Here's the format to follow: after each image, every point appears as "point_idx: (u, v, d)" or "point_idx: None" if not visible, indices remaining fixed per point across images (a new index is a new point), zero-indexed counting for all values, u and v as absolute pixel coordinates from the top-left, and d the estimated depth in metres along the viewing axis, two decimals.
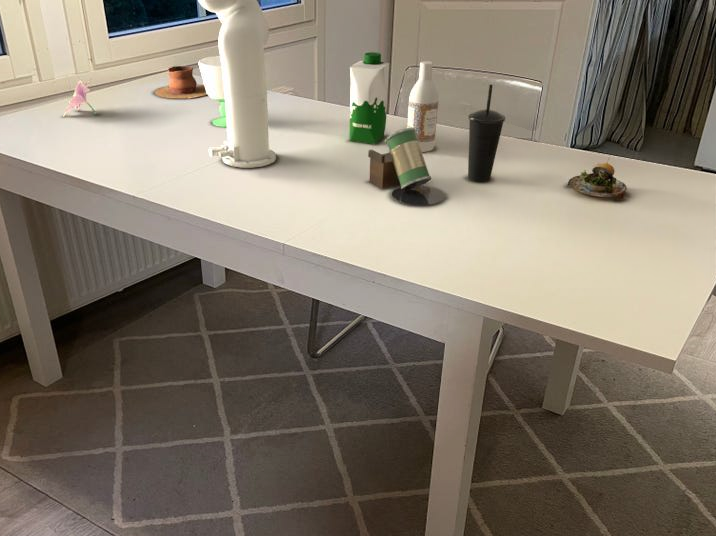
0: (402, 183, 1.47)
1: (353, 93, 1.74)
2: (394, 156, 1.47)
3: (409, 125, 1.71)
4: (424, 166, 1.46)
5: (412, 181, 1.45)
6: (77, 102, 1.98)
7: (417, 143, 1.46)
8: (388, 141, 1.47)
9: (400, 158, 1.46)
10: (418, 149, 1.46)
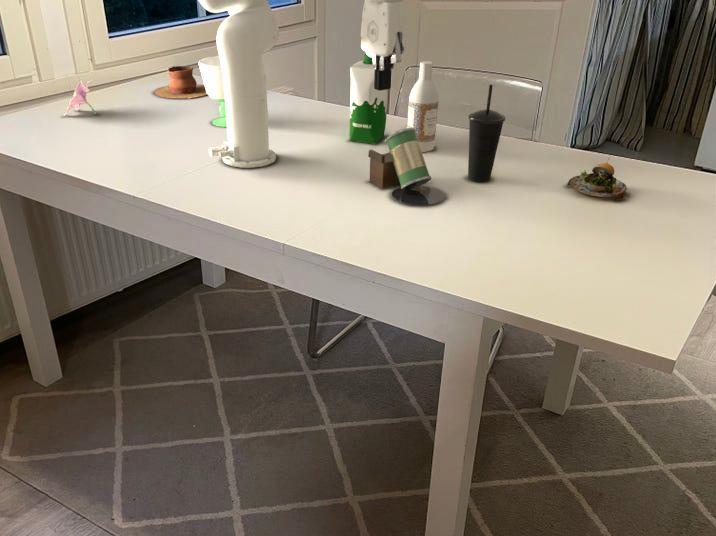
0: (402, 183, 1.47)
1: (353, 93, 1.74)
2: (394, 156, 1.47)
3: (409, 125, 1.71)
4: (424, 166, 1.46)
5: (412, 181, 1.45)
6: (77, 102, 1.98)
7: (417, 143, 1.46)
8: (388, 141, 1.47)
9: (400, 158, 1.46)
10: (418, 149, 1.46)
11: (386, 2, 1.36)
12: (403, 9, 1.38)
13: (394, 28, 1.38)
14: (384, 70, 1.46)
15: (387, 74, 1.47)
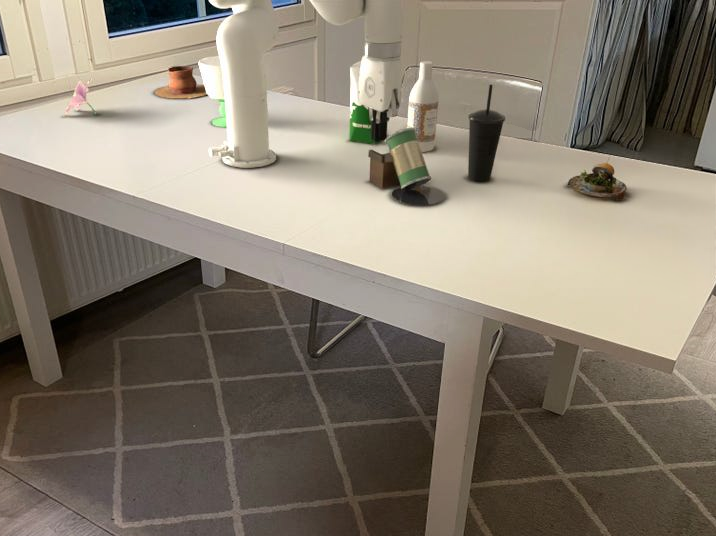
0: (402, 183, 1.47)
1: (353, 93, 1.74)
2: (394, 156, 1.47)
3: (409, 125, 1.71)
4: (424, 166, 1.46)
5: (412, 181, 1.45)
6: (77, 102, 1.98)
7: (417, 143, 1.46)
8: (388, 141, 1.47)
9: (400, 158, 1.46)
10: (418, 149, 1.46)
11: (383, 61, 1.43)
12: (399, 67, 1.44)
13: (390, 85, 1.44)
14: (380, 123, 1.52)
15: (383, 126, 1.53)
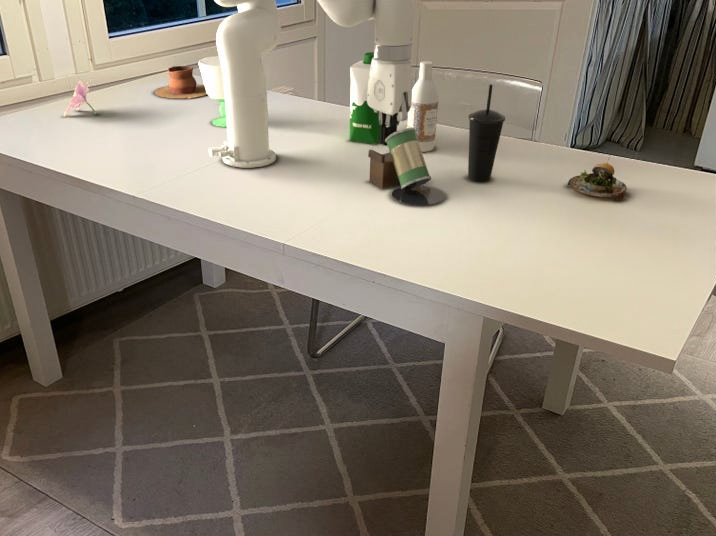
0: (402, 183, 1.47)
1: (353, 93, 1.74)
2: (394, 156, 1.47)
3: (409, 125, 1.71)
4: (424, 166, 1.46)
5: (412, 181, 1.45)
6: (77, 102, 1.98)
7: (417, 143, 1.46)
8: (388, 141, 1.47)
9: (400, 158, 1.46)
10: (418, 149, 1.46)
11: (393, 64, 1.40)
12: (409, 70, 1.42)
13: (400, 89, 1.42)
14: (390, 127, 1.49)
15: (393, 130, 1.50)
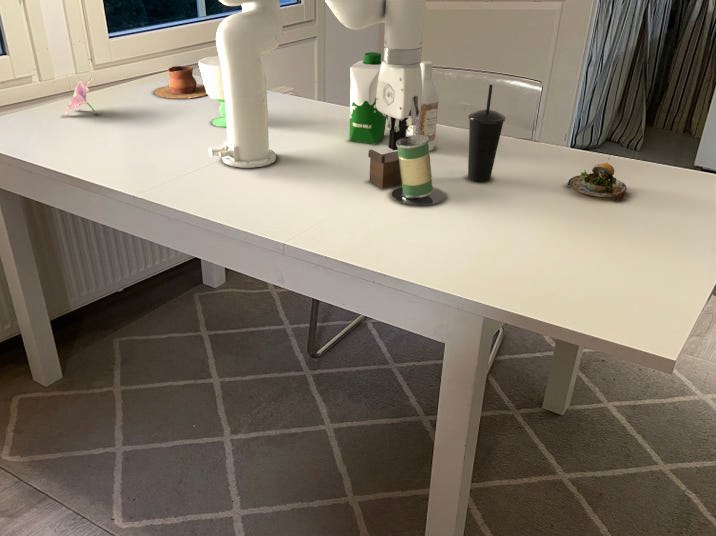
0: (405, 192, 1.47)
1: (353, 93, 1.74)
2: (403, 166, 1.44)
3: None
4: (430, 180, 1.46)
5: (416, 196, 1.46)
6: (77, 102, 1.98)
7: (428, 156, 1.43)
8: (400, 149, 1.42)
9: (409, 171, 1.43)
10: (428, 163, 1.44)
11: (403, 68, 1.38)
12: (419, 74, 1.39)
13: (410, 93, 1.40)
14: (399, 131, 1.47)
15: (402, 135, 1.48)
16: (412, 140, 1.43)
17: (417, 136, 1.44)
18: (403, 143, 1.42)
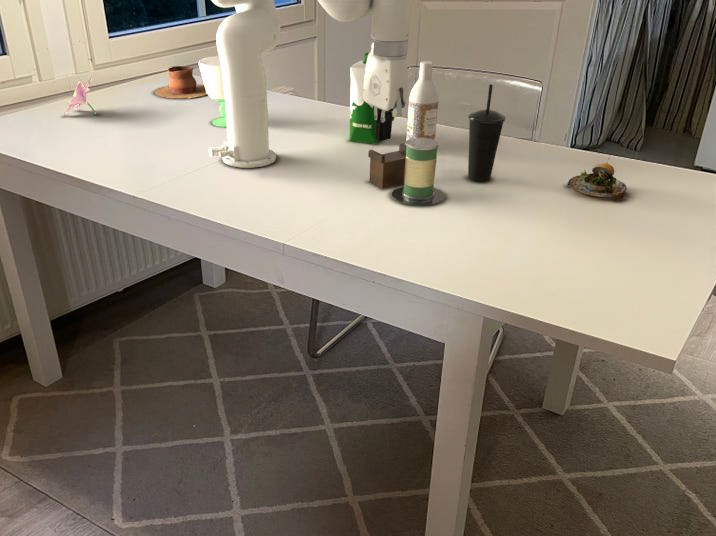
0: (406, 193, 1.47)
1: (353, 93, 1.74)
2: (409, 166, 1.44)
3: (409, 125, 1.71)
4: (432, 185, 1.46)
5: (417, 199, 1.46)
6: (77, 102, 1.98)
7: (435, 161, 1.44)
8: (409, 149, 1.42)
9: (414, 173, 1.44)
10: (434, 168, 1.44)
11: (389, 60, 1.40)
12: (405, 66, 1.42)
13: (396, 84, 1.42)
14: (385, 122, 1.50)
15: (388, 126, 1.51)
16: (422, 142, 1.43)
17: (426, 140, 1.44)
18: (413, 144, 1.42)
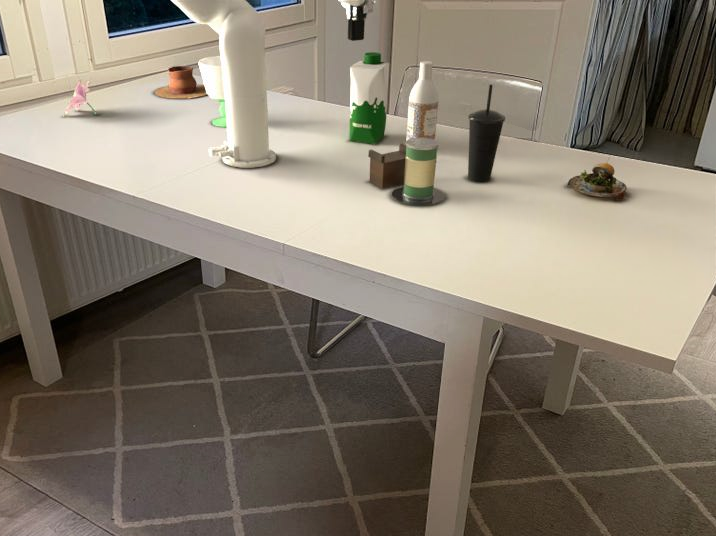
0: (406, 193, 1.47)
1: (353, 93, 1.74)
2: (409, 166, 1.44)
3: (409, 125, 1.71)
4: (432, 185, 1.46)
5: (417, 199, 1.46)
6: (77, 102, 1.98)
7: (435, 161, 1.44)
8: (409, 149, 1.42)
9: (414, 173, 1.44)
10: (434, 168, 1.44)
11: None
12: None
13: None
14: (357, 20, 1.51)
15: (360, 24, 1.52)
16: (422, 142, 1.43)
17: (426, 140, 1.44)
18: (413, 144, 1.42)
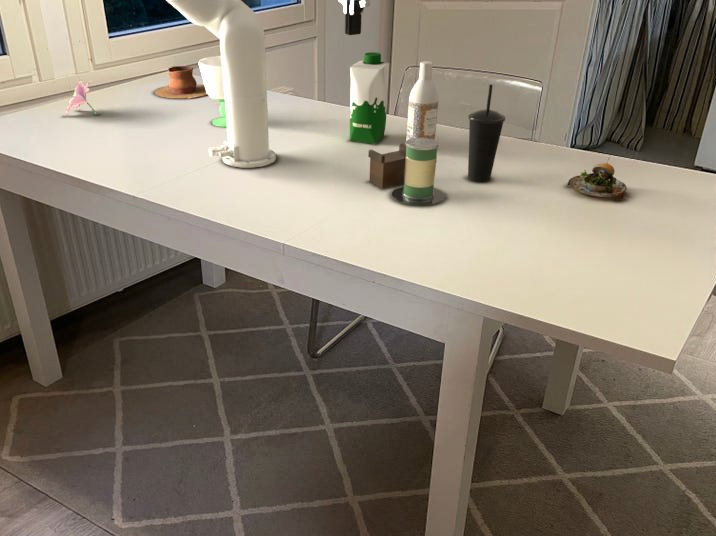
0: (406, 193, 1.47)
1: (353, 93, 1.74)
2: (409, 166, 1.44)
3: (409, 125, 1.71)
4: (432, 185, 1.46)
5: (417, 199, 1.46)
6: (77, 102, 1.98)
7: (435, 161, 1.44)
8: (409, 149, 1.42)
9: (414, 173, 1.44)
10: (434, 168, 1.44)
11: None
12: None
13: None
14: (354, 14, 1.52)
15: (357, 19, 1.53)
16: (422, 142, 1.43)
17: (426, 140, 1.44)
18: (413, 144, 1.42)
